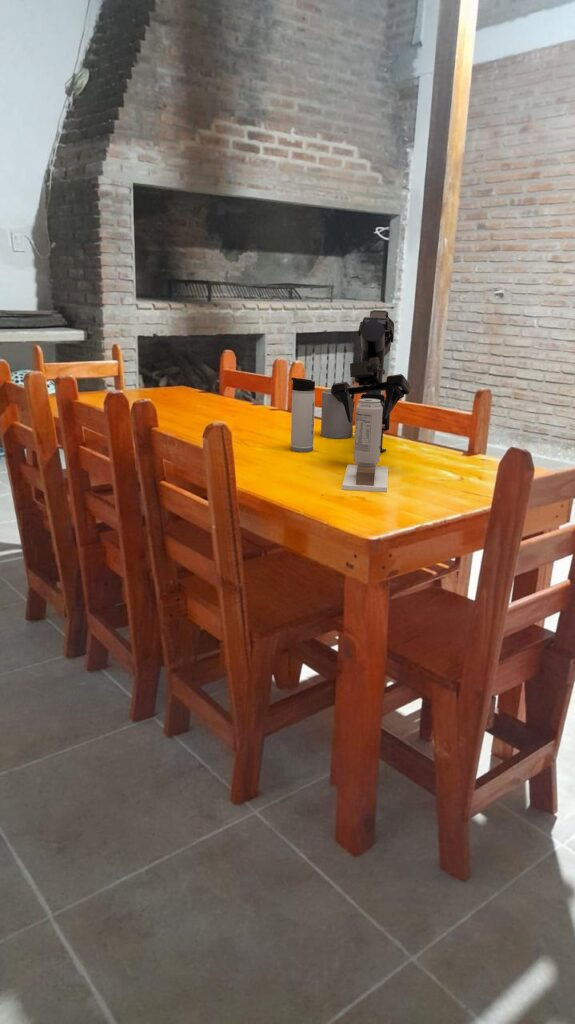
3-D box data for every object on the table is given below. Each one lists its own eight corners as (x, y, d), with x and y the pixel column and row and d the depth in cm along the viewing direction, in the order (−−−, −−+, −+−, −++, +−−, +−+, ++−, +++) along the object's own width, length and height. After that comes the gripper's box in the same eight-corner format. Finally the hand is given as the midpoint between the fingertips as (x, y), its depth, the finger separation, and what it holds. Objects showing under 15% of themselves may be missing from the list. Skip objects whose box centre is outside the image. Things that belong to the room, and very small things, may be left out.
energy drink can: (384, 465, 167) (388, 401, 162) (362, 468, 164) (366, 402, 160) (369, 460, 172) (373, 397, 167) (348, 462, 169) (351, 398, 165)
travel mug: (286, 448, 202) (287, 376, 196) (307, 447, 204) (309, 375, 198) (295, 453, 196) (296, 379, 190) (316, 451, 199) (319, 378, 193)
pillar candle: (334, 431, 227) (336, 383, 222) (359, 436, 220) (360, 387, 216) (314, 436, 220) (315, 386, 216) (338, 440, 214) (339, 390, 209)
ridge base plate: (347, 468, 180) (347, 464, 180) (387, 470, 179) (387, 466, 179) (342, 489, 161) (342, 485, 161) (386, 492, 160) (387, 487, 160)
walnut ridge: (359, 466, 179) (360, 454, 178) (375, 467, 178) (376, 455, 177) (355, 484, 162) (356, 471, 161) (373, 485, 161) (374, 472, 160)
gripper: (324, 352, 176) (318, 410, 172) (397, 340, 168) (392, 401, 163) (342, 373, 186) (337, 429, 181) (412, 363, 177) (408, 421, 172)
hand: (367, 420), depth 174 cm, fingers open, 9 cm apart
